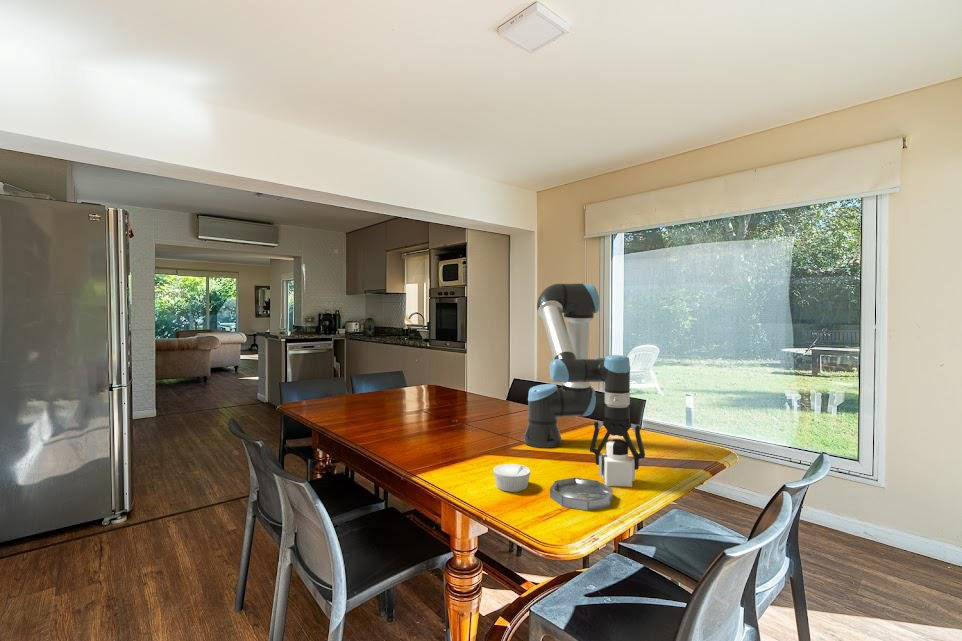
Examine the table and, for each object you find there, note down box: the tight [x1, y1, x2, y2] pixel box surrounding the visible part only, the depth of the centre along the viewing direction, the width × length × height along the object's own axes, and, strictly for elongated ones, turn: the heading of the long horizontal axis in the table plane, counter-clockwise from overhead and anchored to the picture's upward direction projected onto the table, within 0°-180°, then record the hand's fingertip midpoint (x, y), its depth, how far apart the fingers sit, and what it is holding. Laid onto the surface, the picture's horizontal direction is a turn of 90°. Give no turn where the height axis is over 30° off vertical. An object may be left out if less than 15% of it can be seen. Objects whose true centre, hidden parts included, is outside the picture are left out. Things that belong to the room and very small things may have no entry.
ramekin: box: [493, 463, 531, 493], centre depth 138 cm, size 11×11×5 cm
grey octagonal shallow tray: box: [549, 477, 614, 511], centre depth 130 cm, size 17×17×2 cm
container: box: [601, 438, 633, 488], centre depth 141 cm, size 8×8×13 cm
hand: (616, 477), depth 141 cm, fingers closed on container, 9 cm apart
